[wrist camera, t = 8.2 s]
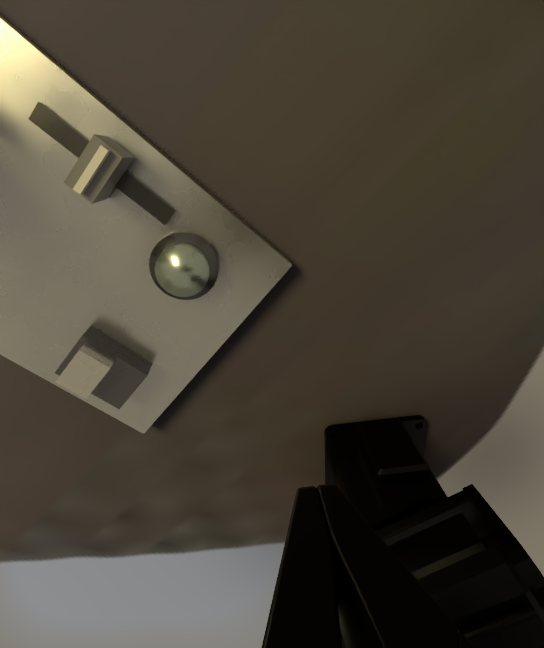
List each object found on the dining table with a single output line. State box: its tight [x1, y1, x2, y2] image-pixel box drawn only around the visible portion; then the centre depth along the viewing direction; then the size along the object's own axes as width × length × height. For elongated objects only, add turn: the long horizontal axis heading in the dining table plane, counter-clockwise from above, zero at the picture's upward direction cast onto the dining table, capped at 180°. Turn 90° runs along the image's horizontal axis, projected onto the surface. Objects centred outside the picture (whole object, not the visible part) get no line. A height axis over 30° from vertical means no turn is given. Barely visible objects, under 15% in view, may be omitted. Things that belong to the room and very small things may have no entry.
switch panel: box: [0, 14, 292, 434], centre depth 16 cm, size 20×13×4 cm, turn 49°
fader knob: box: [64, 134, 135, 204], centre depth 15 cm, size 1×2×2 cm, turn 140°
